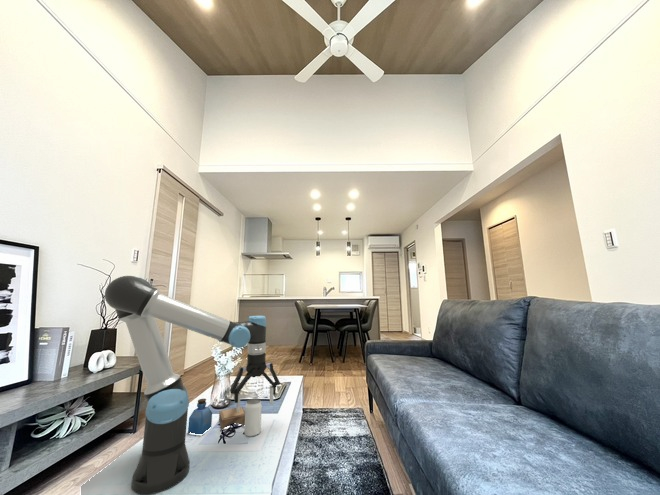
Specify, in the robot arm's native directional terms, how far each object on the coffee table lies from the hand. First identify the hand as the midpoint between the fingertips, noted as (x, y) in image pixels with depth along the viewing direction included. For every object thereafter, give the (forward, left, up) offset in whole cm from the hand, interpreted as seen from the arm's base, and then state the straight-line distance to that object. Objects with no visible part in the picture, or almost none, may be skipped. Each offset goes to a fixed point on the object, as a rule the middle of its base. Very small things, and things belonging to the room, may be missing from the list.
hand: (255, 407), depth 110 cm
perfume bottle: (-19, +12, -10) cm, 25 cm away
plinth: (-6, +13, -10) cm, 17 cm away
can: (-1, 0, -10) cm, 10 cm away
